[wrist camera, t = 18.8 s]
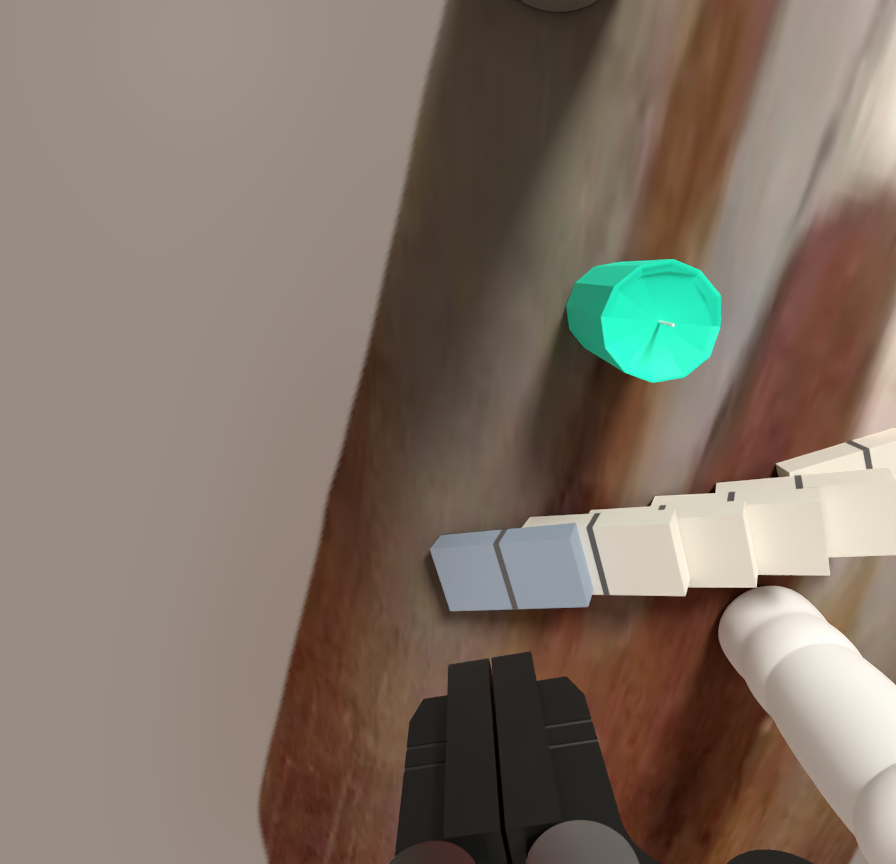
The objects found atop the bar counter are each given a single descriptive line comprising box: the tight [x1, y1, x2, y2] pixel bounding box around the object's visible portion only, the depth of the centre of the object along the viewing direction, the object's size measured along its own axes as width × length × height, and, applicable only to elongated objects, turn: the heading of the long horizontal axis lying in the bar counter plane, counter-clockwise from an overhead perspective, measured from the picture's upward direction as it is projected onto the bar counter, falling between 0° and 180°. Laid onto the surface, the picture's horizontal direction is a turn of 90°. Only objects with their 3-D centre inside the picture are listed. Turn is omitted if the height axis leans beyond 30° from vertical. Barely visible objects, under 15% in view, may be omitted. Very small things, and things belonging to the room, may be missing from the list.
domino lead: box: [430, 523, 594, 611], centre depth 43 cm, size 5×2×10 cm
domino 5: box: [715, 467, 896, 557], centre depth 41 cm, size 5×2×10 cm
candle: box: [566, 259, 721, 383], centre depth 35 cm, size 6×6×12 cm
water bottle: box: [718, 586, 896, 864], centre depth 34 cm, size 7×7×25 cm
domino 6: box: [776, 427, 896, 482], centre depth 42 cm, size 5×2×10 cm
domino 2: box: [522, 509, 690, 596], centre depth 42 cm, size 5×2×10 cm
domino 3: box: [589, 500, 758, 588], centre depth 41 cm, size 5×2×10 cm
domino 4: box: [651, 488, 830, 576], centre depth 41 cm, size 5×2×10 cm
